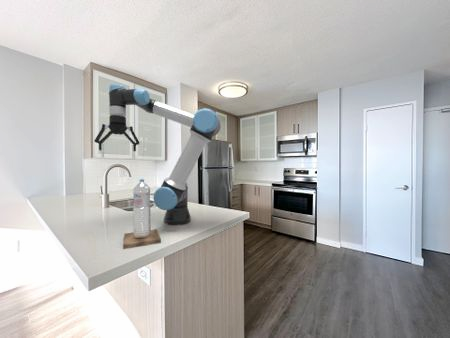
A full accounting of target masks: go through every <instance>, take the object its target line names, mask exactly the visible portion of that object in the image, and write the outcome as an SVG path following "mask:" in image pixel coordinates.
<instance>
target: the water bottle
mask: <svg viewBox="0 0 450 338" xmlns="http://www.w3.org/2000/svg"><path fill="white" fill-rule="evenodd" d="M132 191H133V211H132V212H133V216H132V217H133V232H134V237H135V238H138V239H140V238H146V237H148V236H150V232H151V231H150V230H152V229H151V187H150V186H149V185H148V184H147V183H145V179H144V178H140V179H139V182H138V183H137V184H136V185H135V186H134V187H133V189H132Z"/></svg>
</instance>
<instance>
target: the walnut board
mask: <svg viewBox="0 0 450 338" xmlns="http://www.w3.org/2000/svg"><path fill="white" fill-rule="evenodd" d="M150 231H151V232H150V236H148V237H146V238H140V239H138V238H135V237H134V231H133V232H125V233H124V235H123V242H122V243H123V244H122V245H123V247H122V249H123V250H125V249H130V248H138V247H143V246H148V245H155V244H161V243H162V239H161V237H160V234H159V231H158V229H157V228H155V229H151V230H150Z"/></svg>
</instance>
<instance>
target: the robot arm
mask: <svg viewBox="0 0 450 338" xmlns="http://www.w3.org/2000/svg"><path fill="white" fill-rule="evenodd" d="M108 89H109V91H108V96H109V97H108V99H109V102H108V103H109V107H108V109H109V110H108V111H109V112H108V113H109V116H108V117H109V118H108V119H109V122H108V123H109V124H104V123H102V124H101V129H100V130H99V132H98V133H97V135H96V137H95V138H94V142H95V143H96V144H98V150H99V151H101V158H105V144H104V143H105V141H106V140H108V139H109V137H111V136H112V135H113V134H114V135H121V136H122V135H124V136H125V137H126V139H128V141H129V142H130V143H131V158H132V159H133V158H134V157H135V155H134V153H135V152H136V151H137V146H138V145H140V141H139V139H138V137H137V135H136V134H135V132H134V129H133V128H134V127H133V126H132V125H131V126H127V106H137V107H138V108H139V109H142V110H143V111H145V112H146V113H149V114H152V115H153V114H154V115H156V116H159V117H161V118H164V119H167V120H170V121H172V122H175V123H178V124H181V125H183V126H187V127H189V128H190V129H189V133H190V135H189V138H188V139H187V142H186V144H185V146H184V147H183V149H182V152H181V153H180V156H179V157H178V159H177V161H176V164H175V166H174V167H173V168H172V171H171V173H170V175H169V177H166V178H165V179H164V180H163V182H162V183H161V185H160V187H158V188H157V189H156V190H155V191H154V194H153V197H152V198H153V199H152V200H153V203H154V204H155V206H156V207H157V208H158V209H160V210H163V211H165V214H164V217H163V223H164V224H165V225H168V226H170V225H171V226H177V225H179V226H180V225H185V224H188V223H190V222H191V220H192V219H191V214H190V210H189V208H188V201H189V200H188V199H189V198H188V196H189V194H188V192H189V191H188V190H189V186H188V183H187V181H188V179H189V177H190V175H191V173H192V171H193V169H194V168H195V165H196V163H197V162H198V160H199V157H200V156H201V154H202V151H203V150H204V149H205V147H206V144H207V143H211V142H212V140H213V137H215V136H216V135H218V133H219V132H220V130H221V122H220V118H219V116H218V115H217V113H216V112H215V111H214V110H212V109H210V108H200V109H198V110H197V111H196V112H195V113H192V112H189V111H185V110H183V109H180V108H178V107H175V106H172V105H170V104H167V103H163V102H160V101H157V100H155V99H153V98H151V97H150V93H149V91H148V90H147V89H145V88H134V89H133V88H132V89H131V88H130V89H129V88H128V89H126V87H125V86H124V85H121V84H117V83H113V84H110V85H109V88H108ZM108 128H109V131H108V132H107V134H105V135H104V132H105V131H106V130H107V129H108ZM127 130H128V131H129V132H130V133H131V135H132V137H133V138H131V137H130V135H129V134H128V133H127V132H126V131H127ZM103 135H104V136H103ZM101 137H102V138H101ZM133 139H134V140H133Z"/></svg>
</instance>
